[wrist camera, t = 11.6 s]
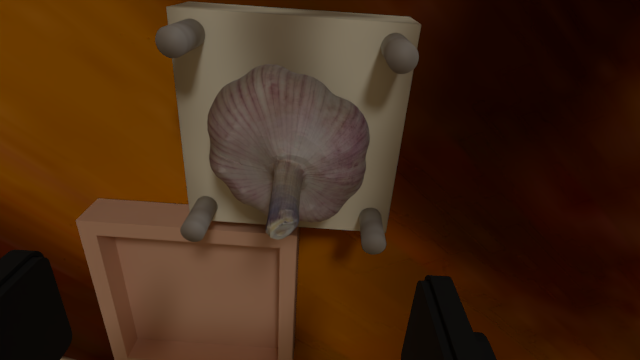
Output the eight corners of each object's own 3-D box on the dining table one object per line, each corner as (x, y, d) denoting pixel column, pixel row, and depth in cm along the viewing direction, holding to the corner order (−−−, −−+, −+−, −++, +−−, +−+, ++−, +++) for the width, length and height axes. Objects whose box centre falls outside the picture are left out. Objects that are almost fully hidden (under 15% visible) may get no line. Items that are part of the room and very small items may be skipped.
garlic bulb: (380, 182, 21) (404, 293, 14) (249, 210, 22) (208, 325, 15) (348, 35, 17) (358, 81, 10) (195, 76, 18) (108, 143, 11)
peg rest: (409, 16, 20) (433, 32, 15) (380, 204, 25) (391, 262, 20) (188, 1, 20) (141, 12, 15) (205, 192, 25) (174, 246, 20)
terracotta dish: (300, 212, 25) (297, 235, 23) (294, 349, 32) (291, 378, 29) (98, 198, 25) (75, 220, 23) (131, 338, 32) (116, 365, 29)
